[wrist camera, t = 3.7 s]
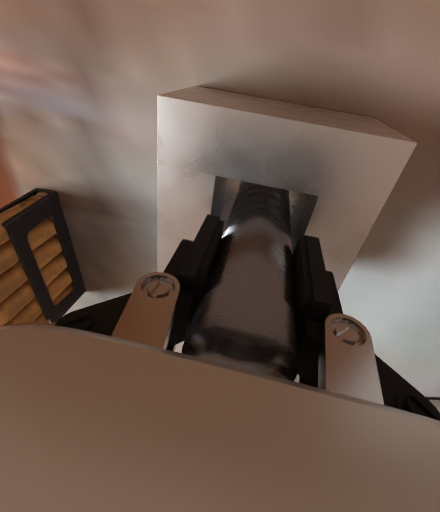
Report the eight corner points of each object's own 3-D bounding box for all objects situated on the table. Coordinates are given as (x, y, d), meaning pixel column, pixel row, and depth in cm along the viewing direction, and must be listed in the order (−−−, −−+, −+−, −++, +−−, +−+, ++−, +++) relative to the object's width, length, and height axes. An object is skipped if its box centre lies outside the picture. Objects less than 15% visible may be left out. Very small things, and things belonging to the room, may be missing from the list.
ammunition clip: (86, 291, 28) (-19, 413, 18) (69, 288, 28) (-44, 407, 18) (56, 190, 21) (-128, 294, 12) (35, 187, 22) (-164, 287, 12)
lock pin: (300, 189, 17) (324, 362, 7) (270, 228, 18) (256, 408, 9) (255, 161, 16) (213, 304, 6) (229, 203, 18) (165, 365, 8)
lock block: (373, 117, 15) (417, 143, 10) (312, 261, 21) (321, 321, 16) (195, 85, 16) (157, 95, 11) (185, 234, 22) (157, 283, 17)
